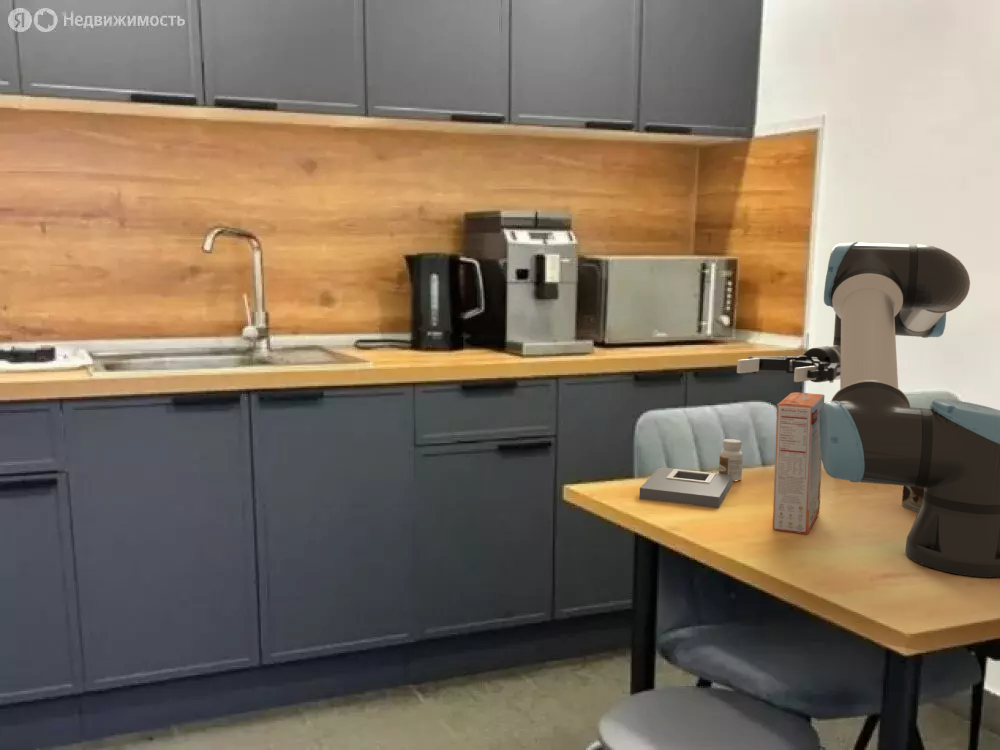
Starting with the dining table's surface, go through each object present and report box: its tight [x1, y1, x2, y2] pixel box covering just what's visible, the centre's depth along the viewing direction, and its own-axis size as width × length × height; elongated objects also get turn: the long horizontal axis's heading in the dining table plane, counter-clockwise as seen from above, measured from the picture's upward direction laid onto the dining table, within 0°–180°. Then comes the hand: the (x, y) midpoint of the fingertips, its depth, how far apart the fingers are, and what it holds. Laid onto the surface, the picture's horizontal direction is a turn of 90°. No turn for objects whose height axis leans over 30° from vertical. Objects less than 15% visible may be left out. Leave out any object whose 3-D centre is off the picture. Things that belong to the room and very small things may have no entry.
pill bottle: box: [718, 438, 744, 482], centre depth 185 cm, size 4×4×8 cm
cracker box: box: [772, 391, 825, 535], centre depth 155 cm, size 14×6×21 cm, turn 154°
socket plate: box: [638, 466, 733, 509], centre depth 175 cm, size 18×14×2 cm
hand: (766, 370), depth 190 cm, fingers open, 13 cm apart
